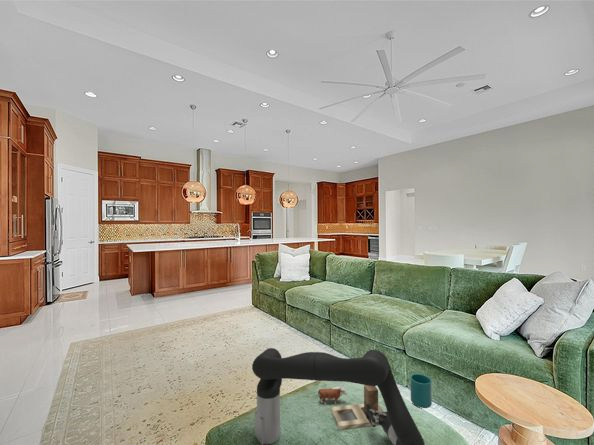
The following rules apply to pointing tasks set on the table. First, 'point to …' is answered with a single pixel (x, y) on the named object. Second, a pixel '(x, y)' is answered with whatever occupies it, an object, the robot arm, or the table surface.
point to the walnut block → (370, 397)
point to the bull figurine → (331, 393)
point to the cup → (421, 390)
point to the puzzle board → (351, 416)
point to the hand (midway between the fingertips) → (377, 404)
